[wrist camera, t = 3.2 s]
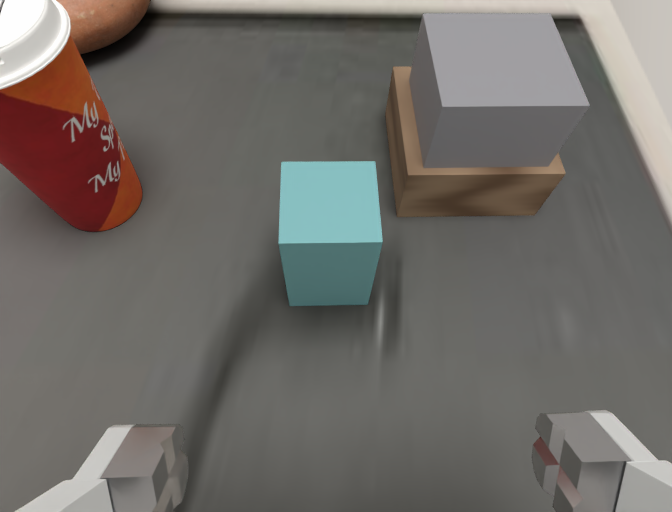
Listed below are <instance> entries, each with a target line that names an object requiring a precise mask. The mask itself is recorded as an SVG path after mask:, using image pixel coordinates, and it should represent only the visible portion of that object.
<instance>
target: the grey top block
mask: <svg viewBox="0 0 672 512" xmlns="http://www.w3.org/2000/svg"><path fill="white" fill-rule="evenodd" d="M409 83H410V89H411V95H412V101H413V107H414V113H415V119H416V125H417V131H418V137H419V143H420V149H421V155H422V161H423V167H424V168H471V167H548V166H549V165H550V163H551V162H552V160H553V159H554V157H555V156H556V155H557V153H558V152H559V150H560V149H561V147H562V146H563V144H564V143H565V141H566V140H567V138H568V137H569V136H570V134H571V133H572V131H573V130H574V128H575V127H576V125H577V124H578V122H579V121H580V119H581V118H582V117H583V115H584V114H585V112H586V111H587V109H588V108H589V106H590V105H589V102H588V100H587V98H586V95H585V93H584V91H583V89H582V86H581V84H580V82H579V79H578V77H577V75H576V72H575V70H574V68H573V65H572V63H571V61H570V58H569V56H568V54H567V51H566V49H565V47H564V44H563V42H562V40H561V37H560V35H559V33H558V30H557V28H556V26H555V23H554V21H553V19H552V16H551V14H550V13H423V15H422V20H421V25H420V29H419V34H418V39H417V44H416V49H415V54H414V59H413V63H412V68H411V73H410V78H409Z"/></svg>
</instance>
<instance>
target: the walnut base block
mask: <svg viewBox="0 0 672 512" xmlns="http://www.w3.org/2000/svg"><path fill="white" fill-rule="evenodd" d="M411 68H412V67H393V70H392V76H391V83H390V89H389V95H388V101H387V107H386V113H385V118H386V126H387V135H388V143H389V152H390V160H391V169H392V178H393V186H394V195H395V203H396V212H397V217H434V216H514V215H535V214H536V213H537V211H538V210H539V209H540V207H541V206H542V205H543V203H544V202H545V201H546V199H547V198H548V197H549V195H550V194H551V193H552V191H553V190H554V189H555V187H556V186H557V185H558V183H559V182H560V181H561V179H562V178H563V177H564V175H565V174H566V173H565V171H564V168H563V165H562V162H561V159H560V156H559V154H558V153H557V155H556V156H555V157H554V159H553V160H552V162H551V163H550V165H549V166H548V167H471V168H424V167H423V161H422V155H421V149H420V143H419V137H418V131H417V125H416V119H415V113H414V107H413V101H412V95H411V89H410V83H409V78H410V73H411Z"/></svg>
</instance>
